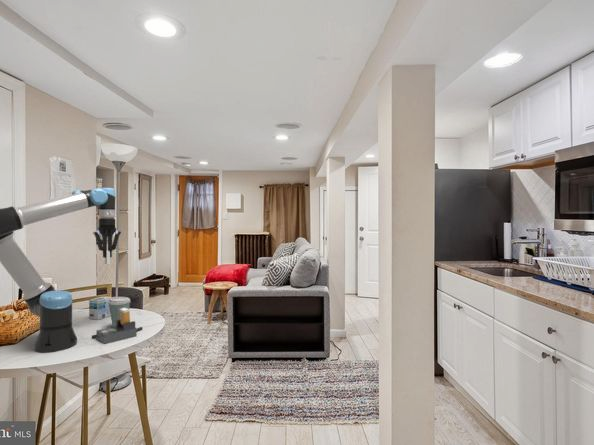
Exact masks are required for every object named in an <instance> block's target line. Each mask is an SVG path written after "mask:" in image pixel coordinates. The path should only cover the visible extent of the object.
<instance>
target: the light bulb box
mask: <svg viewBox="0 0 594 445" xmlns="http://www.w3.org/2000/svg"><path fill="white" fill-rule="evenodd" d="M112 297H113V296H100V297H95V298H92V299H89V300H88V304H89V307H88V309H89V310H88V315H89V317H88V319H90V320H96V321H97V320H98V321H99V320H102V319H105V318H108V317H109V318H110V317H111V315H110V309H109V304H108V301H109V299H110V298H112Z"/></svg>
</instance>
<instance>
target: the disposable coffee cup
mask: <svg viewBox="0 0 594 445" xmlns="http://www.w3.org/2000/svg"><path fill="white" fill-rule="evenodd" d="M111 297H112V298H110V299H109V301H108V304H109V309H110V315H111V316H110V319H111V326H112V327H116V320H120V310H119V309H122V308H127V309H129V310H130V306H131V298H130V297H126V296H111Z"/></svg>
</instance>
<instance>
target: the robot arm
mask: <svg viewBox="0 0 594 445" xmlns="http://www.w3.org/2000/svg"><path fill="white" fill-rule="evenodd" d="M92 207H98V228H97V230H96V231H93V232H92V234H93V236H94V237H95V240H96V244H97V247H98V250H99V251H102V258H104V264H105V265H111V258H112V257H113V251H115V250H117V245H118V241H119V237H120V235H121V233H122V231H119V230H117V227H116V219H115V218H116V190H115V189H114V188H112V187H99V188H92V189H87V190H81V189H79V190H78V189H77V190H73V191H72V192H71V194H69V195H64V196H60V197H56V198H52V199H48V200H44V201H41V202H36V203H31V204H28V205H24V206H21V207H20V206H18V207H16V206H12V205H11V206H8V207H4V208H3V207H2V208H0V264H1V265H2V266H3V268H4V269H5V270H6V271H7V272H8V274H9V275H10V277H11V278H12V279H13V281H14V282H15V284H16V285H17V286H18V287H19V289H20V290H21V291H22V292H23V296H22V299H23V301H24V302H25V303H26V305H27V306H28V310H29V311H30V312H31V313H32V314H33V315H35V316H37V317H39V333H38V336H37V338H36V341H35V344H34V351H36V352H38V353H52V352H53V353H54V352H55V353H56V352H59V351H65V350H68V349H70V348H72V347H74V346H76V345H77V344H78V338H77V334H76V332H75V330H74V328H73V294H72V293H71V292H70V291H67V290H56V289H55V288H54V286H53V285H52V283H50V282H45V280H44V279H43V278H42V276H41V275H40V274H39V272H38V271H37V270H36V268H35V267H34V265H33V263H32V262H31V261H30V260H29V258H28V257H27V256H26V255H25V253H24V252H23V250H22V249H21V247H20V246H19V245H18V243H17V242H16V240H15V239H14V235H15V232H16V231H20V230H22V229H24V227H25V226H28V225H30V224H34V223H38V222H41V221H42V222H43V221H45V220H48V219H52V218H56V217H59V216H62V215H63V216H64V215H67V214H69V213H73V212H77V211H80V210H84V209H87V208H92ZM100 236H101V237H100ZM113 236H114V237H113ZM101 238H102V239H101Z"/></svg>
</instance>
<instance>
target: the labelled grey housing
mask: <svg viewBox="0 0 594 445" xmlns="http://www.w3.org/2000/svg"><path fill="white" fill-rule="evenodd" d="M137 328H138V327H136V321H135V320H134V321H133V320H132V321H130V322H127V323H123V326H122V324H121V322H120V320H116V327H113V326H112V327H111V326H110V327H107V328H103V329H98V330H96V334H95V335H96V338H95V339H96V340H97V341H99V342H100V343H101V344H102V343H103V344H104V345H107V344H111V343H115V342H118V341H124V340H128V339H131V338H132V339H133V338H135V337H137V335H138V334H137V332H138V331H137Z"/></svg>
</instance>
